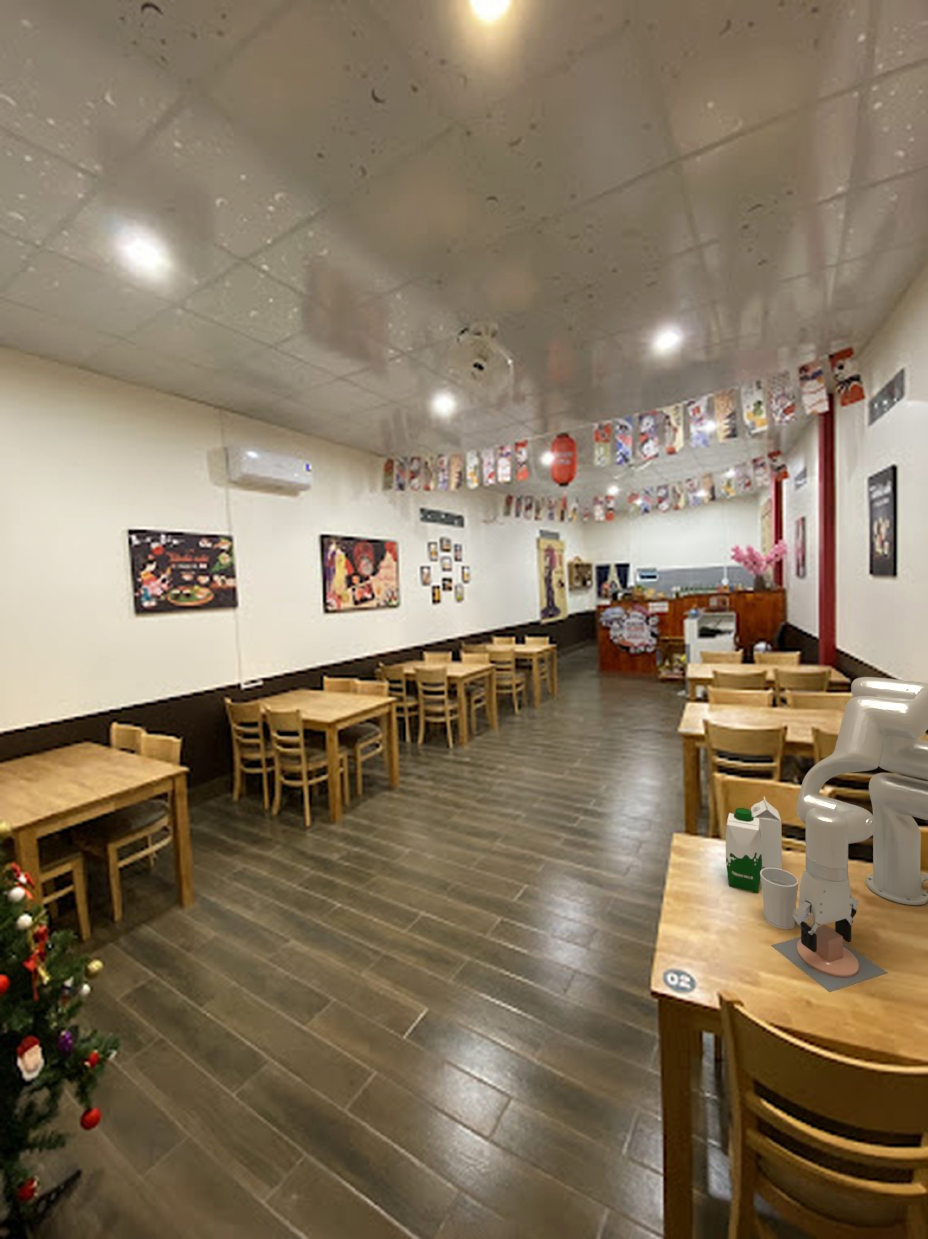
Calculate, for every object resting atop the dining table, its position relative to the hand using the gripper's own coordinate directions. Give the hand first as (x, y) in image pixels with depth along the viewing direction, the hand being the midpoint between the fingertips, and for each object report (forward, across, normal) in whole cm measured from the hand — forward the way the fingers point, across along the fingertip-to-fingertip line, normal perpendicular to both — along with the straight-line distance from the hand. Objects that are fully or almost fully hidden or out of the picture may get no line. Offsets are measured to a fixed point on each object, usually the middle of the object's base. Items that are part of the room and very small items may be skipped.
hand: (826, 943), depth 110 cm
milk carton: (+4, -20, -35) cm, 41 cm away
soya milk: (+4, -6, -29) cm, 30 cm away
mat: (+4, 0, 0) cm, 5 cm away
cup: (+5, -1, -13) cm, 14 cm away
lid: (+4, 0, 0) cm, 4 cm away
